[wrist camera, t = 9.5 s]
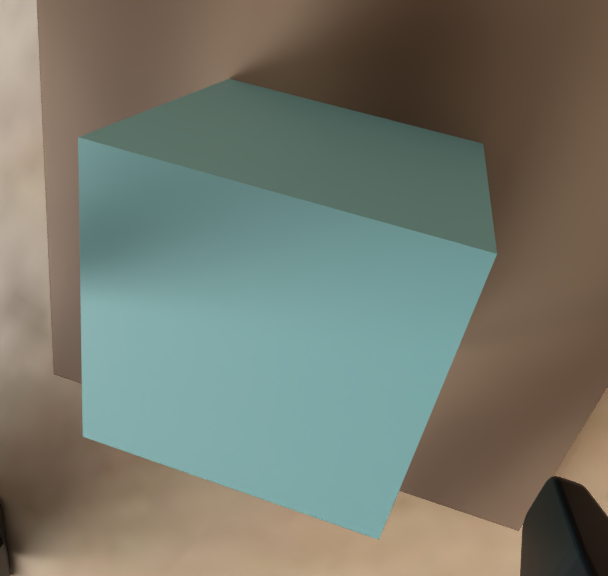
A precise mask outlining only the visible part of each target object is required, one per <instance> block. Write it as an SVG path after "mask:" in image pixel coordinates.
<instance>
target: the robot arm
mask: <svg viewBox="0 0 608 576" xmlns="http://www.w3.org/2000/svg"><path fill="white" fill-rule="evenodd" d="M0 576H10V569H9V561H8V553H7V545H6V537H5V529H4V521H3V513H2V507H1V504H0ZM520 576H608V516H607V515H606V513H605V512H604V511H603V509H602V508H601V507H600V506H599V504H598V503H597V502H596V500H595V499H594V498H593V496H592V495H591V494H590V493H589V491H588V490H587V489H586V488H585V487H584V486H583V485H581V484H579V483H576V482H573V481H570V480H567V479H564V478H561V477H557V476H553V477H550V478H549V479H548V480H547V481H546V482H545V484H544V486H543V487H542V489H541V490H540V492H539V494H538V495H537V497H536V499H535V500H534V502H533V504H532V505H531V507H530V508H529V510H528V512H527V514H526V516H525V519H524V523H523V529H522V548H521V569H520Z"/></svg>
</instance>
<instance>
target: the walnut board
mask: <svg viewBox="0 0 608 576" xmlns="http://www.w3.org/2000/svg"><path fill="white" fill-rule="evenodd" d="M37 15H38V37H39V59H40V81H41V103H42V125H43V147H44V169H45V190H46V212H47V234H48V256H49V278H50V300H51V322H52V344H53V366H54V374H55V375H58V376H61V377H64V378H67V379H70V380H73V381H76V382H79V383H82V362H81V296H80V230H79V164H78V137H80V136H83V135H85V134H88V133H90V132H93V131H95V130H98V129H101V128H103V127H106V126H108V125H111V124H114V123H116V122H119V121H121V120H124V119H126V118H129V117H132V116H134V115H137V114H139V113H142V112H144V111H147V110H150V109H152V108H155V107H157V106H160V105H162V104H165V103H168V102H170V101H173V100H175V99H178V98H180V97H183V96H186V95H188V94H191V93H193V92H196V91H199V90H201V89H204V88H206V87H209V86H211V85H214V84H217V83H219V82H222V81H224V80H227V79H232V80H236V81H240V82H244V83H248V84H252V85H256V86H260V87H263V88H267V89H271V90H275V91H279V92H283V93H287V94H291V95H295V96H299V97H303V98H306V99H310V100H314V101H318V102H322V103H326V104H330V105H334V106H338V107H342V108H346V109H349V110H353V111H357V112H361V113H365V114H369V115H373V116H377V117H381V118H385V119H389V120H392V121H396V122H400V123H404V124H408V125H412V126H416V127H420V128H424V129H428V130H432V131H435V132H439V133H443V134H447V135H451V136H455V137H459V138H463V139H467V140H471V141H475V142H478V143H482V144H483V146H484V154H485V162H486V170H487V178H488V186H489V194H490V202H491V210H492V217H493V225H494V233H495V241H496V249H497V255H496V258H495V260H494V263H493V265H492V267H491V270H490V272H489V275H488V277H487V280H486V282H485V284H484V287H483V289H482V292H481V294H480V296H479V299H478V301H477V304H476V306H475V309H474V311H473V313H472V316H471V318H470V321H469V323H468V325H467V328H466V330H465V333H464V335H463V337H462V340H461V342H460V345H459V347H458V350H457V352H456V354H455V357H454V359H453V362H452V364H451V366H450V369H449V371H448V374H447V376H446V378H445V381H444V383H443V386H442V388H441V391H440V393H439V395H438V398H437V400H436V403H435V405H434V407H433V410H432V412H431V415H430V417H429V420H428V422H427V424H426V427H425V429H424V432H423V434H422V436H421V439H420V441H419V444H418V446H417V448H416V451H415V453H414V456H413V458H412V461H411V463H410V465H409V468H408V470H407V473H406V475H405V477H404V480H403V482H402V485H401V487H400V489H399V491H402V492H405V493H408V494H411V495H414V496H417V497H420V498H423V499H426V500H429V501H431V502H434V503H437V504H440V505H443V506H446V507H449V508H452V509H455V510H458V511H461V512H464V513H467V514H470V515H473V516H476V517H479V518H482V519H485V520H488V521H491V522H494V523H497V524H500V525H503V526H506V527H509V528H511V529H514V530H517V531H519V530H520V528H521V527H522V525H523V523H524V519H525V516H526V514H527V512H528V510H529V508H530V507H531V505H532V504H533V502H534V500H535V499H536V497H537V495H538V494H539V492H540V490H541V489H542V487H543V486H544V484H545V482H546V481H547V480H548V479H549V478H550V477H552V476H553V474H554V473H555V471H556V470H557V468H558V466H559V465H560V463H561V461H562V460H563V458H564V457H565V455H566V453H567V452H568V450H569V448H570V447H571V445H572V444H573V442H574V440H575V439H576V437H577V435H578V434H579V432H580V431H581V429H582V427H583V426H584V424H585V422H586V421H587V419H588V417H589V416H590V414H591V413H592V411H593V409H594V408H595V406H596V404H597V403H598V401H599V400H600V398H601V396H602V395H603V393H604V391H605V390H606V388H607V387H608V0H37Z"/></svg>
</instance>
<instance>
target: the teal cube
mask: <svg viewBox="0 0 608 576" xmlns="http://www.w3.org/2000/svg"><path fill="white" fill-rule="evenodd" d="M78 164H79V230H80V296H81V362H82V428H83V437H85V438H88V439H91V440H94V441H97V442H100V443H102V444H105V445H108V446H111V447H114V448H117V449H120V450H123V451H125V452H128V453H131V454H134V455H137V456H140V457H143V458H145V459H148V460H151V461H154V462H157V463H160V464H163V465H166V466H168V467H171V468H174V469H177V470H180V471H183V472H186V473H189V474H191V475H194V476H197V477H200V478H203V479H206V480H209V481H212V482H214V483H217V484H220V485H223V486H226V487H229V488H232V489H235V490H237V491H240V492H243V493H246V494H249V495H252V496H255V497H258V498H260V499H263V500H266V501H269V502H272V503H275V504H278V505H280V506H283V507H286V508H289V509H292V510H295V511H298V512H301V513H303V514H306V515H309V516H312V517H315V518H318V519H321V520H324V521H326V522H329V523H332V524H335V525H338V526H341V527H344V528H347V529H349V530H352V531H355V532H358V533H361V534H364V535H367V536H370V537H372V538H375V539H378V540H379V538H380V535H381V533H382V531H383V528H384V526H385V523H386V521H387V518H388V516H389V514H390V511H391V509H392V506H393V504H394V502H395V499H396V497H397V494H398V492H399V489H400V487H401V485H402V482H403V480H404V477H405V475H406V473H407V470H408V468H409V465H410V463H411V461H412V458H413V456H414V453H415V451H416V448H417V446H418V444H419V441H420V439H421V436H422V434H423V432H424V429H425V427H426V424H427V422H428V420H429V417H430V415H431V412H432V410H433V407H434V405H435V403H436V400H437V398H438V395H439V393H440V391H441V388H442V386H443V383H444V381H445V378H446V376H447V374H448V371H449V369H450V366H451V364H452V362H453V359H454V357H455V354H456V352H457V350H458V347H459V345H460V342H461V340H462V337H463V335H464V333H465V330H466V328H467V325H468V323H469V321H470V318H471V316H472V313H473V311H474V309H475V306H476V304H477V301H478V299H479V296H480V294H481V292H482V289H483V287H484V284H485V282H486V280H487V277H488V275H489V272H490V270H491V267H492V265H493V263H494V260H495V258H496V255H497V249H496V241H495V233H494V225H493V217H492V210H491V202H490V194H489V186H488V178H487V170H486V162H485V154H484V146H483V144H482V143H478V142H475V141H471V140H467V139H463V138H459V137H455V136H451V135H447V134H443V133H439V132H435V131H432V130H428V129H424V128H420V127H416V126H412V125H408V124H404V123H400V122H396V121H392V120H389V119H385V118H381V117H377V116H373V115H369V114H365V113H361V112H357V111H353V110H349V109H346V108H342V107H338V106H334V105H330V104H326V103H322V102H318V101H314V100H310V99H306V98H303V97H299V96H295V95H291V94H287V93H283V92H279V91H275V90H271V89H267V88H263V87H260V86H256V85H252V84H248V83H244V82H240V81H236V80H232V79H227V80H224V81H222V82H219V83H217V84H214V85H211V86H209V87H206V88H204V89H201V90H199V91H196V92H193V93H191V94H188V95H186V96H183V97H180V98H178V99H175V100H173V101H170V102H168V103H165V104H162V105H160V106H157V107H155V108H152V109H150V110H147V111H144V112H142V113H139V114H137V115H134V116H132V117H129V118H126V119H124V120H121V121H119V122H116V123H114V124H111V125H108V126H106V127H103V128H101V129H98V130H95V131H93V132H90V133H88V134H85V135H83V136H80V137H78Z"/></svg>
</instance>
